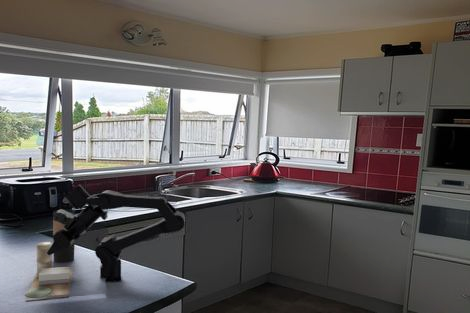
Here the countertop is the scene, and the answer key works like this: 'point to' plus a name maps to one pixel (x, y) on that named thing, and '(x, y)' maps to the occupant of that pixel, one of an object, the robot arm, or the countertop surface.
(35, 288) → the wooden board
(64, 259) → the travel mug
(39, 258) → the roller
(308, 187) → the countertop surface
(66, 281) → the slab
